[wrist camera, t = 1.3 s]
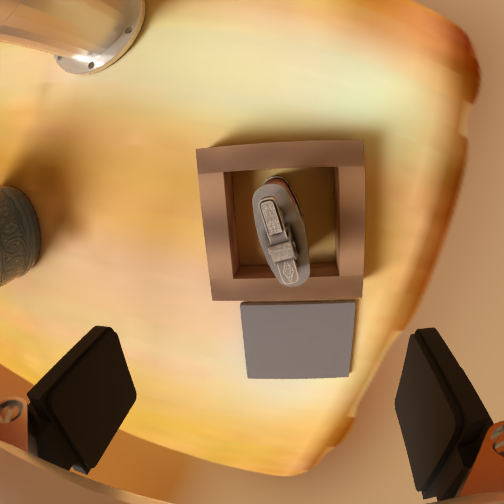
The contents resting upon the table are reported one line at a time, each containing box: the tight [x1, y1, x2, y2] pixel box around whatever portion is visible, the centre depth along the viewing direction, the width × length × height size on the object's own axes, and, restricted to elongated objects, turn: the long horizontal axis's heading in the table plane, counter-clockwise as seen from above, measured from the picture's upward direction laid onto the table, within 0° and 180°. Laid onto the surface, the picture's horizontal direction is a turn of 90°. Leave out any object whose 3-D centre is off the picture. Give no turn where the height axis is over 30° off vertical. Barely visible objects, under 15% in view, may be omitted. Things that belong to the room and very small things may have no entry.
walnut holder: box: [196, 140, 365, 301], centre depth 29 cm, size 14×14×4 cm
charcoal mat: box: [240, 300, 356, 379], centre depth 34 cm, size 10×12×1 cm
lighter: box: [252, 176, 310, 287], centre depth 26 cm, size 8×3×10 cm, turn 18°
